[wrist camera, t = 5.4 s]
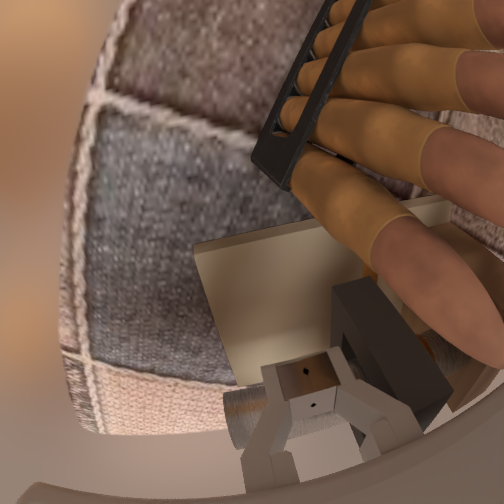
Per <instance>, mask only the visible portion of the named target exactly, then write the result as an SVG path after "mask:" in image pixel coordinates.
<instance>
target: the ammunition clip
mask: <svg viewBox="0 0 504 504" xmlns="http://www.w3.org/2000/svg"><path fill="white" fill-rule="evenodd" d="M500 49H504V0H325V2H324V4H323V6H322V8H321V10H320V11H319V13H318V15H317V17H316V19H315V21H314V23H313V25H312V27H311V29H310V31H309V33H308V35H307V37H306V39H305V41H304V43H303V45H302V47H301V49H300V51H299V53H298V55H297V57H296V59H295V61H294V63H293V65H292V67H291V70H290V72H289V74H288V76H287V78H286V80H285V82H284V84H283V86H282V88H281V91H280V93H279V95H278V97H277V99H276V101H275V103H274V106H273V108H272V110H271V112H270V114H269V117H268V119H267V121H266V123H265V125H264V128H263V130H262V132H261V134H260V136H259V139H258V141H257V143H256V145H255V148H254V150H253V152H252V155H251V161H252V162H253V163H254V164H255V165H256V166H257V167H258V168H259V169H260V170H261V171H263V172H264V173H265V174H266V175H267V176H268V177H269V178H270V179H271V180H272V181H273V182H274V183H275V184H277V185H278V186H279V187H280V188H281V189H282V190H284V191H287V192H290V191H291V192H292V193H293V194H294V195H295V196H296V197H297V198H298V199H299V200H300V202H301V203H302V204H303V205H304V206H305V207H306V208H307V209H308V210H309V211H310V213H311V214H312V215H313V216H314V217H315V218H316V219H317V220H318V222H319V223H320V224H321V225H322V226H323V227H324V228H325V230H326V231H327V232H328V233H329V234H330V235H331V236H332V237H333V238H334V239H335V240H336V241H338V242H339V243H341V244H342V245H344V246H346V247H347V248H349V249H350V250H352V251H354V252H355V253H356V254H357V255H358V256H359V257H360V258H361V259H362V260H363V261H364V262H365V263H366V264H367V265H368V266H369V267H370V268H371V269H372V271H374V272H375V273H377V274H378V275H379V276H380V277H381V278H382V279H383V280H384V281H385V282H386V284H387V285H388V286H389V287H390V288H391V289H392V290H393V292H394V293H395V294H396V295H397V296H398V297H399V298H400V299H401V300H402V301H403V302H404V303H405V304H406V305H407V306H408V307H409V308H410V309H411V310H412V311H413V312H414V313H415V314H416V315H418V316H419V317H420V318H421V319H422V320H423V321H424V322H425V323H426V324H427V325H429V326H430V327H431V328H432V329H433V330H434V331H436V332H437V333H438V334H439V335H441V336H442V337H443V338H444V339H446V340H447V341H449V342H450V343H451V344H453V345H454V346H456V347H457V348H458V349H460V350H461V351H463V352H464V353H465V354H467V355H469V356H471V357H472V358H474V359H476V360H478V361H480V362H482V363H484V364H486V365H489V366H491V367H493V368H496V369H504V323H503V321H502V318H501V316H500V314H499V312H498V310H497V308H496V307H495V305H494V303H493V301H492V299H491V298H490V296H489V294H488V292H487V291H486V289H485V288H484V286H483V285H482V284H481V282H480V281H479V279H478V278H477V277H476V275H475V274H474V273H473V271H472V270H471V269H470V267H469V266H468V265H467V264H466V263H465V262H464V260H463V259H462V258H461V257H460V256H459V255H458V254H457V253H456V252H455V251H454V250H453V249H452V247H451V246H450V245H449V244H448V243H447V242H446V241H445V240H443V239H442V238H441V237H440V236H439V235H437V234H436V233H435V232H434V231H432V230H431V229H430V228H429V227H427V226H426V225H425V224H423V223H422V221H421V220H420V219H419V218H418V217H417V216H416V215H415V214H413V213H412V212H411V211H410V210H408V209H407V208H406V207H404V206H403V205H402V204H401V203H399V202H398V201H397V200H396V199H395V198H394V196H393V195H392V194H391V193H390V192H389V191H388V190H387V189H386V188H385V187H384V186H383V185H382V184H381V183H380V182H379V181H378V180H376V179H375V178H373V177H372V176H370V175H368V174H367V173H365V172H363V171H361V170H360V169H358V168H356V167H355V165H356V163H358V164H360V165H362V166H364V167H366V168H368V169H370V170H371V171H373V172H375V173H378V174H380V175H383V176H386V177H389V178H392V179H396V180H401V181H406V182H410V183H412V184H414V185H417V186H419V187H421V188H423V189H425V190H427V191H429V192H431V193H434V194H438V195H440V196H442V197H443V198H445V199H447V200H449V201H450V202H452V203H454V204H456V205H458V206H459V207H461V208H463V209H465V210H467V211H469V212H471V213H474V214H476V215H478V216H480V217H482V218H484V219H486V220H488V221H490V222H492V223H494V224H496V225H498V226H501V227H503V228H504V149H503V148H501V147H499V146H497V145H496V144H494V143H492V142H490V141H488V140H485V139H483V138H481V137H478V136H475V135H473V134H470V133H467V132H464V131H461V130H458V129H454V128H453V127H451V126H450V125H447V124H444V123H441V122H438V121H435V120H432V119H429V118H425V117H422V116H420V115H419V114H417V113H415V112H413V111H411V110H409V109H413V110H421V111H444V110H455V111H462V112H467V113H473V114H478V115H479V114H484V115H488V116H492V117H496V118H499V119H503V120H504V54H502V53H495V52H484V51H472V50H500ZM312 143H315V144H317V145H319V146H322V147H324V148H326V149H328V150H330V151H333V152H335V153H337V155H336V156H334V155H332V154H330V153H328V152H326V151H324V150H322V149H320V148H318V147H316V146H314V145H312Z"/></svg>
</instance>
